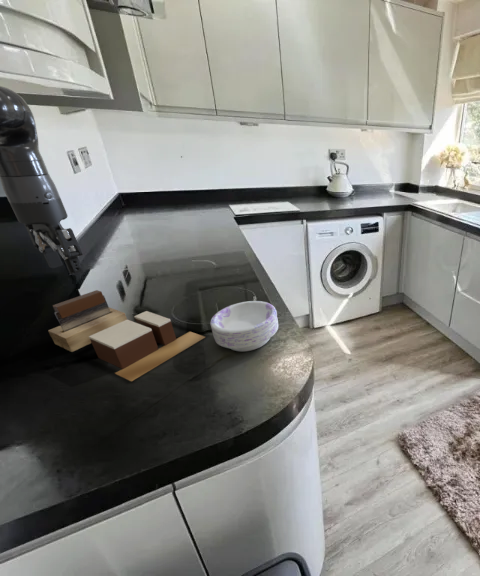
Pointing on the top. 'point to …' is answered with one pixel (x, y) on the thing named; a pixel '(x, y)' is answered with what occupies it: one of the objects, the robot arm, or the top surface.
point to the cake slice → (157, 327)
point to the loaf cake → (124, 343)
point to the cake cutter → (81, 310)
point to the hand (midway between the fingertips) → (66, 270)
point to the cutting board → (159, 356)
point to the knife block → (85, 331)
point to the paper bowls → (245, 325)
